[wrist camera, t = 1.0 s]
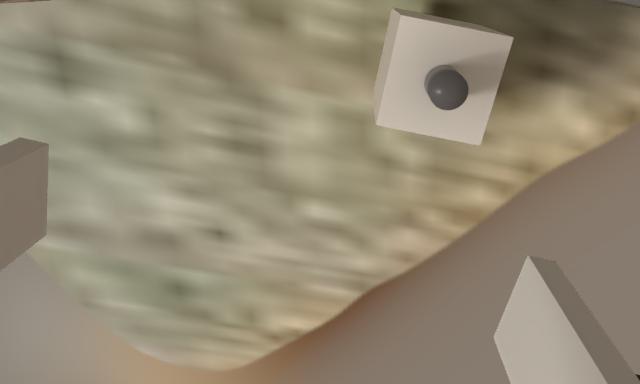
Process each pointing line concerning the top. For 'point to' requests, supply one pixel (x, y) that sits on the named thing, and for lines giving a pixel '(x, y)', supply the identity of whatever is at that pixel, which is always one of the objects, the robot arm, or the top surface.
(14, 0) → the soda can
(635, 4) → the socket
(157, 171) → the top surface
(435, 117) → the plug
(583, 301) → the robot arm
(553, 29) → the top surface
